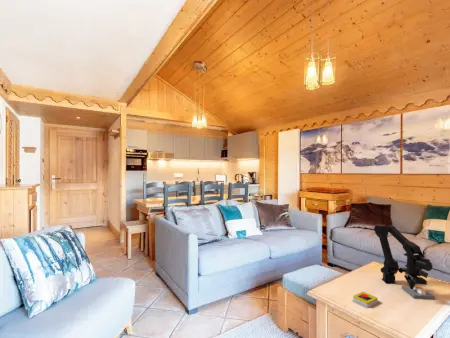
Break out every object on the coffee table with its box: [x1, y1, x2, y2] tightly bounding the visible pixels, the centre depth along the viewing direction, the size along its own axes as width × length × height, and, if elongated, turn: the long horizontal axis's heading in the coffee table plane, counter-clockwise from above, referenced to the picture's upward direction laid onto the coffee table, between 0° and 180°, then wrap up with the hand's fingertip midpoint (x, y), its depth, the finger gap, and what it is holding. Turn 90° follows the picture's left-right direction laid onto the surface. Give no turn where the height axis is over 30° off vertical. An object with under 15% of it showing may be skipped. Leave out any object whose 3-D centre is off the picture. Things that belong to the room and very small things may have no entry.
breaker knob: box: [413, 284, 426, 295], centre depth 158 cm, size 2×10×3 cm, turn 175°
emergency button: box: [351, 291, 380, 309], centre depth 149 cm, size 9×4×15 cm
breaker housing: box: [401, 285, 436, 301], centre depth 158 cm, size 12×12×2 cm
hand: (411, 289), depth 158 cm, fingers closed
